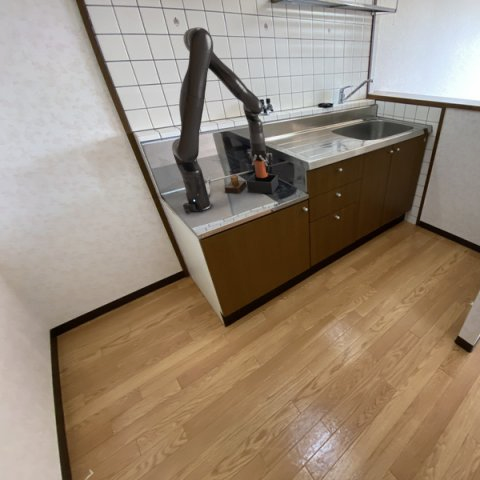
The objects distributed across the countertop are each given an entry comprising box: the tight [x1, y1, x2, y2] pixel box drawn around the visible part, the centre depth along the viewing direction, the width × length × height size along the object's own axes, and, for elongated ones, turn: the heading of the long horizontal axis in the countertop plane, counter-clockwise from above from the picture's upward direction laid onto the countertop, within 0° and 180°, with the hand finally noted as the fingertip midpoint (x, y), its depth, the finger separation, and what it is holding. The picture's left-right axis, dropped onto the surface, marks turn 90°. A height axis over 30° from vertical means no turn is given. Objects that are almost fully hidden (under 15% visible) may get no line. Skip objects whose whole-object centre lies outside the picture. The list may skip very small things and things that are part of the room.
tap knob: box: [229, 174, 239, 185], centre depth 152 cm, size 4×4×5 cm
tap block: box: [224, 179, 247, 194], centre depth 154 cm, size 11×8×3 cm
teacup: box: [204, 178, 212, 196], centre depth 146 cm, size 14×11×8 cm
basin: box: [245, 172, 280, 195], centre depth 153 cm, size 12×14×6 cm
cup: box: [254, 159, 269, 178], centre depth 148 cm, size 6×6×9 cm
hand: (261, 171), depth 149 cm, fingers closed on cup, 6 cm apart
